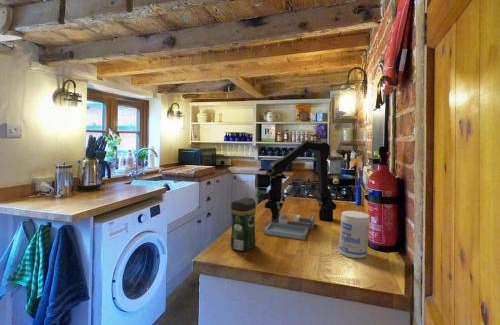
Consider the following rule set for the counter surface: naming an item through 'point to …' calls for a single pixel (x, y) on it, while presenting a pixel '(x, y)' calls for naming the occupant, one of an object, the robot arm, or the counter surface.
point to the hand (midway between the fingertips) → (275, 218)
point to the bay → (304, 222)
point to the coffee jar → (243, 224)
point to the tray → (286, 230)
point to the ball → (288, 217)
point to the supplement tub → (354, 234)
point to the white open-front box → (281, 218)
